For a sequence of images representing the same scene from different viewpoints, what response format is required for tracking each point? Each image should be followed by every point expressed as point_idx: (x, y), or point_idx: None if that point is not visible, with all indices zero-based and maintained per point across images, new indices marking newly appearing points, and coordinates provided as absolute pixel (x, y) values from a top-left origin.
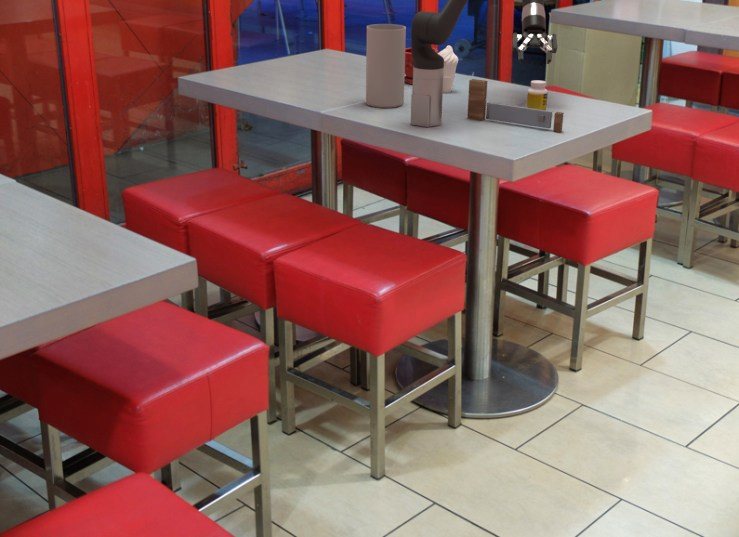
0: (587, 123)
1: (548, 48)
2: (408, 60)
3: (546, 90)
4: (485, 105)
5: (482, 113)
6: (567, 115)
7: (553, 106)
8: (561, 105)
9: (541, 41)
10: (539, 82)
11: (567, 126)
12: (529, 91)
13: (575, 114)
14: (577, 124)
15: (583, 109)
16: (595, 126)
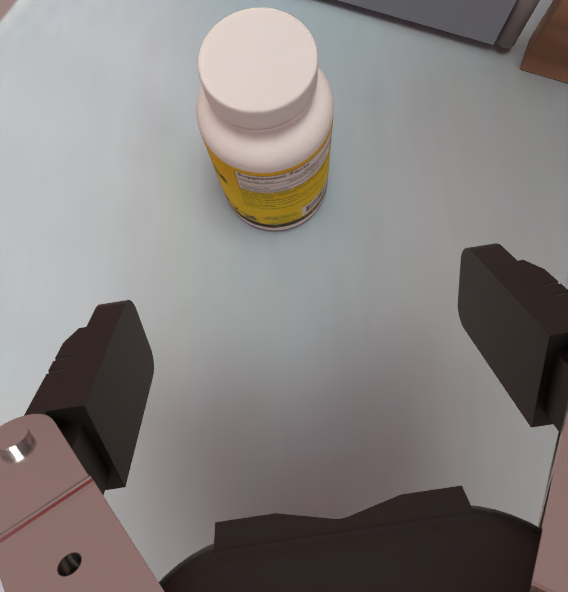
0: (31, 114)
1: (45, 444)
2: None
3: (202, 87)
4: (557, 7)
5: (546, 12)
6: (111, 248)
7: (175, 457)
8: (125, 499)
9: (157, 585)
10: (249, 35)
11: (129, 40)
12: (320, 70)
13: (67, 281)
14: (80, 85)
15: (6, 417)
16: (4, 71)
